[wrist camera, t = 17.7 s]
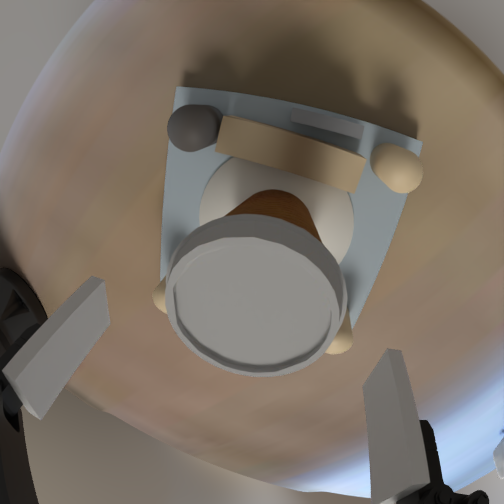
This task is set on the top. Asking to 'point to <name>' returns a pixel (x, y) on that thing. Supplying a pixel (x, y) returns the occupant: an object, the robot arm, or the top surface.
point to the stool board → (296, 189)
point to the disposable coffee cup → (257, 288)
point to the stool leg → (265, 145)
